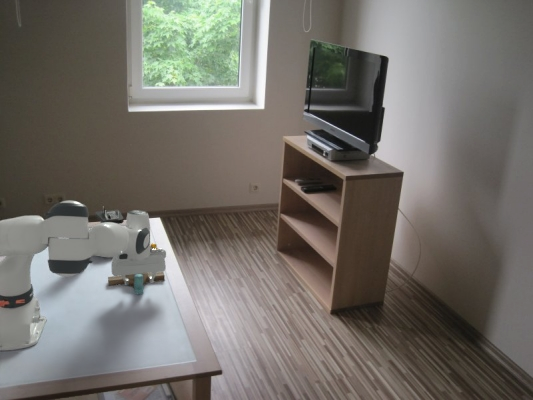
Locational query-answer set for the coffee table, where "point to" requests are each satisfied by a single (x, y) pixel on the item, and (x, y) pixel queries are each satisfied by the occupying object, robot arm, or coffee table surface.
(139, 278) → the teal crank handle
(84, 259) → the robot arm
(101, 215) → the black-topped pedestal
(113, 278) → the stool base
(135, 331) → the coffee table surface
